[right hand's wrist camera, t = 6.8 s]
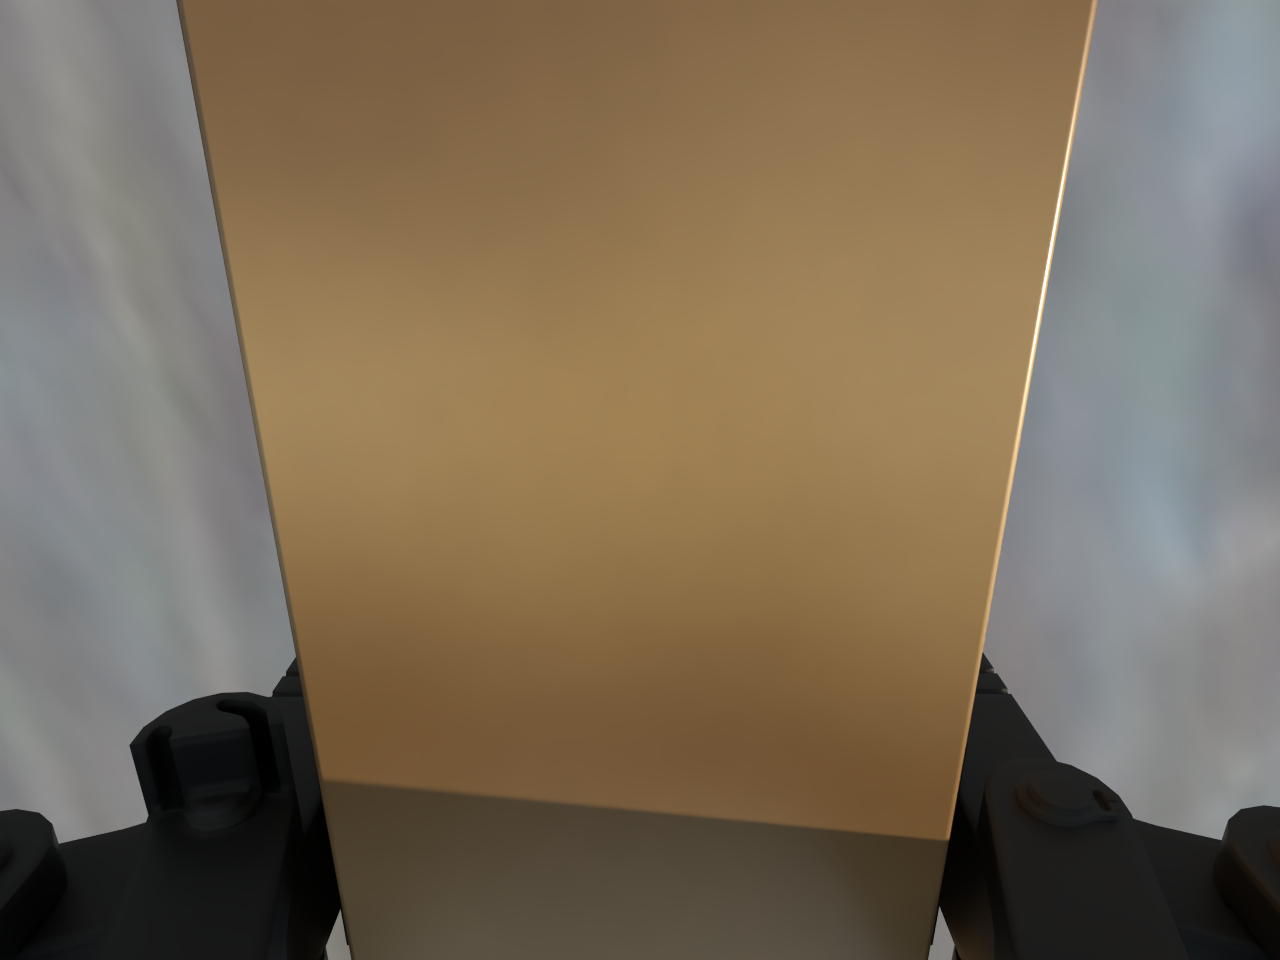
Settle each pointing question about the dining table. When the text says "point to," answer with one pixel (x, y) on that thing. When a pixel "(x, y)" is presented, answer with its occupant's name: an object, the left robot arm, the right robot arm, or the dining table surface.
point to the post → (638, 443)
